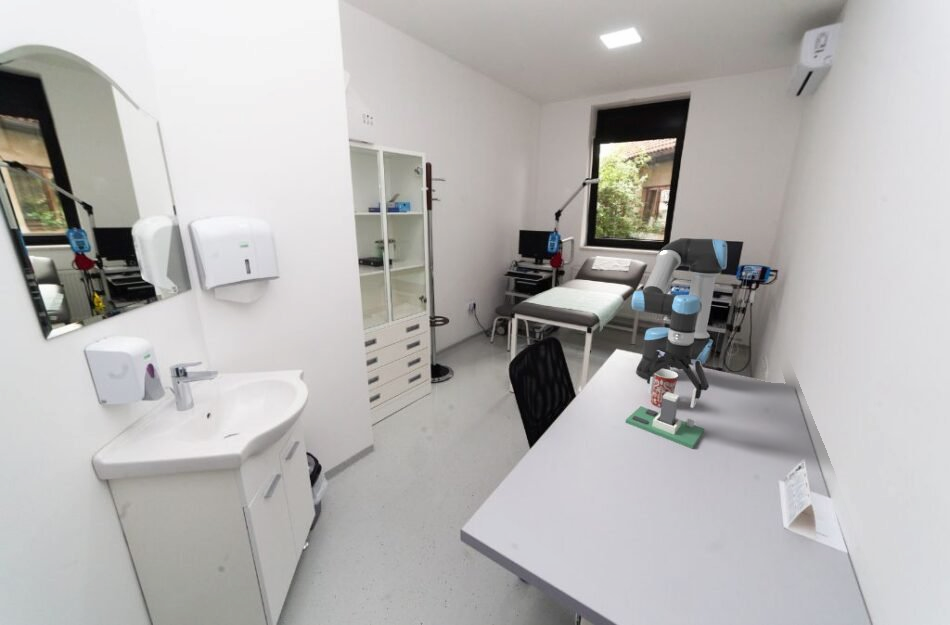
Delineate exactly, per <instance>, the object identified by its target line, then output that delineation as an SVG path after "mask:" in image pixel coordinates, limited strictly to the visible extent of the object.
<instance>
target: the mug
mask: <svg viewBox="0 0 950 625" xmlns="http://www.w3.org/2000/svg"><path fill="white" fill-rule="evenodd" d="M653 375H656V376H655V383H654V390H653V392H652V393H651V394H650V403H651V404H652V405H654V406H655V407H658V408H661V406H662V400H663V395H664V394H665V393H666V392H670V393H673V394H675V388H676V384H677V380H678V378H679V373H677V372H675V371H673V370H667V369H660V370H659V371H657V372H656V373H654V374H653Z"/></svg>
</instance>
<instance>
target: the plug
mask: <svg viewBox="0 0 950 625" xmlns="http://www.w3.org/2000/svg"><path fill="white" fill-rule="evenodd" d="M679 400H680V395H679V394H676V393H670V392H666V393H665V394H664V395H663V400H662V406H661V407H660V412H659V413H660V419H659V421H661V422H664V423H666V424H669V425H672V426H674V425H675V419H676V418H677V412H678V405H679Z"/></svg>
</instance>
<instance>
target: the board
mask: <svg viewBox="0 0 950 625" xmlns="http://www.w3.org/2000/svg"><path fill="white" fill-rule="evenodd" d="M660 413H661V412H658V411H656V410H653V409H649V408H647V407H644V406H642V405H641V406H639V407H638V408H637V409H635V411H634V412H633V413H631V415H629V416H628V417H627V418H626V419H625V423H626V424H628V425H631V426H633V427H636V428H638V429H641V430H643V431H646V432H648V433H651V434H653V435H656V436H658V437H659V436H660V437H662V438H665V439H666V440H669V441H672V442H675V443H677V444H679V445H682V446H685V447H687V448H689V449H694V447H695V446H696V444H697V443H698V441H699V440H700V439H701V436H703V434H704V432H705V428H704V427H701V426H699V425H696V424H695V421H694V420H693V419H690V418H689V419H688V418H687V421H684V420H682V419H680V418H677V417H676V419H675V425H674V426H672V425H669V424H666V423H664V422H661V421H659V419H660Z"/></svg>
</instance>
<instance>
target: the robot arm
mask: <svg viewBox="0 0 950 625" xmlns="http://www.w3.org/2000/svg"><path fill="white" fill-rule="evenodd" d="M727 263H728V243H727V242H726V241H725V240H724V239H715V238H688V237H684V238H678V239H675V240H673V241H671V242H669V243H667V244H666V245H664V246H663V247H662V248H661V249H660V250H659V251H658V253H657V255H656V257H655V264H654V267H653V269H652V271H651V272H650V275H649V277H648V279H647V280H646V283H645V285H644V286H643V290H635V291H634V292H633V294H632V297H631V308H632V310H633V311H636V312H637V311H638V312H642V313H650V314H656V315H663V316H670V321H669V322H670V323H669V326H668V327H661V326H660V327H659V326H658V327H651V328H648V329H646V331H645V334H644V337H643V338H644V339H643V348H642V355H641V356H642V357H641V359H640V361H639V363H638V365H637V366H636V371H635V374H636V375H637V376H638V377H639V378H641V379H644V380H646V384H648V385H649V386H648V392H647V393H648V394H649V395H651V393H652V392H653V390H654V383H655V376H656V375H653V374H654V373H656V372H657V371H659V370H660V369H667V370H671V368H672V369H677V370H679V371H680V370H682V371H683V372H684V373H685V374H686V376H687V377H688V378H689V381H690V382H691V384H692V385H693V386H694V388H693V390H692V395H691V402H690V408H691V409H694V407H695V406H696V403H697V400H699V399H700V398H701V394H702V391H707V390H708V389H709V388H710V384H709V382H708V380H707V378H706V377H707V376H706V375H705V372H704V369H703V367H702V365H703V364H705V363H706V361H707V359H708V357H709V353H710V351H711V348H712V345H713V343H714V340H713V339H712V338H710V334H709V332H708V331H707V328H708V323H709V319H710V314H711V308H712V307H711V306H712V302H713V295H714V290H715V289H714V288H715V284H716V278H717V277H718V276H719V275H721V274H722V270H726V269H727ZM682 266H683V267H688V272H689V273H690V274H691V279H690V285H689V286H690V288H689V292H688V294H670V293H669V294H668V293H666V292H667V290H668V287H669V285H670V283H671V280H672V278H673V276H674V273H675V271H676V269H678V268H679V267H682ZM690 364H692V365H693V367H694V368H695V372H696V374H697V376H698V377H697V376H696V375H695V373H694V371H693V370H692V367H691V366H690ZM671 371H672V370H671Z"/></svg>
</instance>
